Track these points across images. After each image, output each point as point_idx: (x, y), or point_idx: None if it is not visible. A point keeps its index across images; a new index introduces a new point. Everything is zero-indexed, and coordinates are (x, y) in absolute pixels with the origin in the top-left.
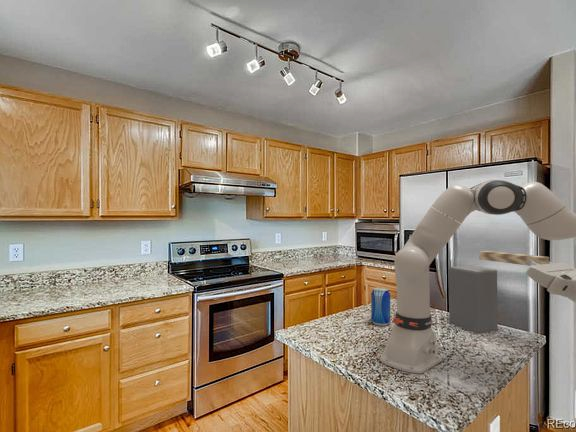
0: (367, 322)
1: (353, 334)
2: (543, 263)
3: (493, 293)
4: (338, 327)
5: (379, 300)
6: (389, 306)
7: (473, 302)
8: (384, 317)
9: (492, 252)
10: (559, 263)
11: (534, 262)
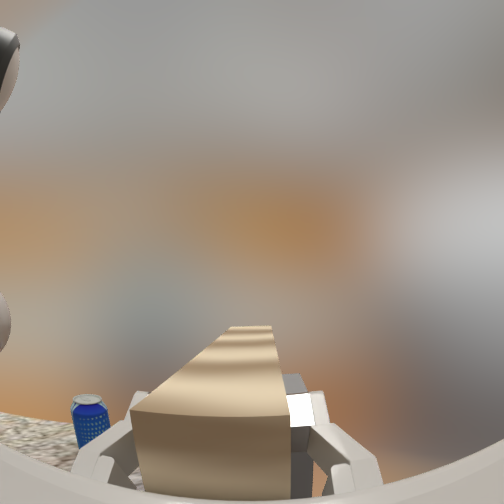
0: None
1: (24, 451)
2: (166, 479)
3: (291, 485)
4: (40, 437)
5: (72, 418)
6: (91, 436)
7: None
8: None
9: (226, 333)
10: (434, 485)
11: (100, 437)
